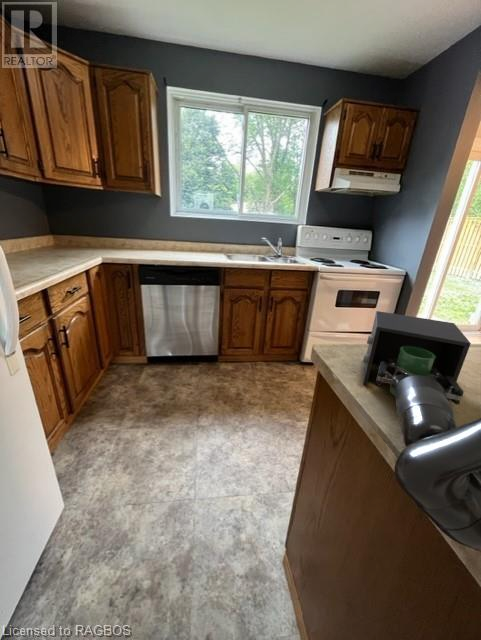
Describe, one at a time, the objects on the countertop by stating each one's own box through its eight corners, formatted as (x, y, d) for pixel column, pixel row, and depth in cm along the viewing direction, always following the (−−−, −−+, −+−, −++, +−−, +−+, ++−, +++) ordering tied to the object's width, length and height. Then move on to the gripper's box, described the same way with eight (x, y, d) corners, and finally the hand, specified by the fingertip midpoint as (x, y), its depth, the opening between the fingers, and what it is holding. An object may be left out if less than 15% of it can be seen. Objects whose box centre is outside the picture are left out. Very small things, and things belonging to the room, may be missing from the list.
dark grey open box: (435, 377, 68) (454, 323, 63) (447, 406, 57) (471, 343, 52) (360, 360, 75) (372, 310, 70) (358, 383, 64) (371, 325, 59)
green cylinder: (419, 390, 60) (432, 349, 57) (423, 405, 55) (438, 362, 52) (388, 382, 63) (399, 343, 59) (389, 396, 57) (401, 354, 54)
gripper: (485, 401, 41) (456, 356, 55) (379, 376, 46) (378, 341, 60) (468, 441, 43) (445, 388, 57) (370, 412, 49) (371, 370, 63)
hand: (410, 364), depth 59 cm, fingers closed on green cylinder, 6 cm apart
